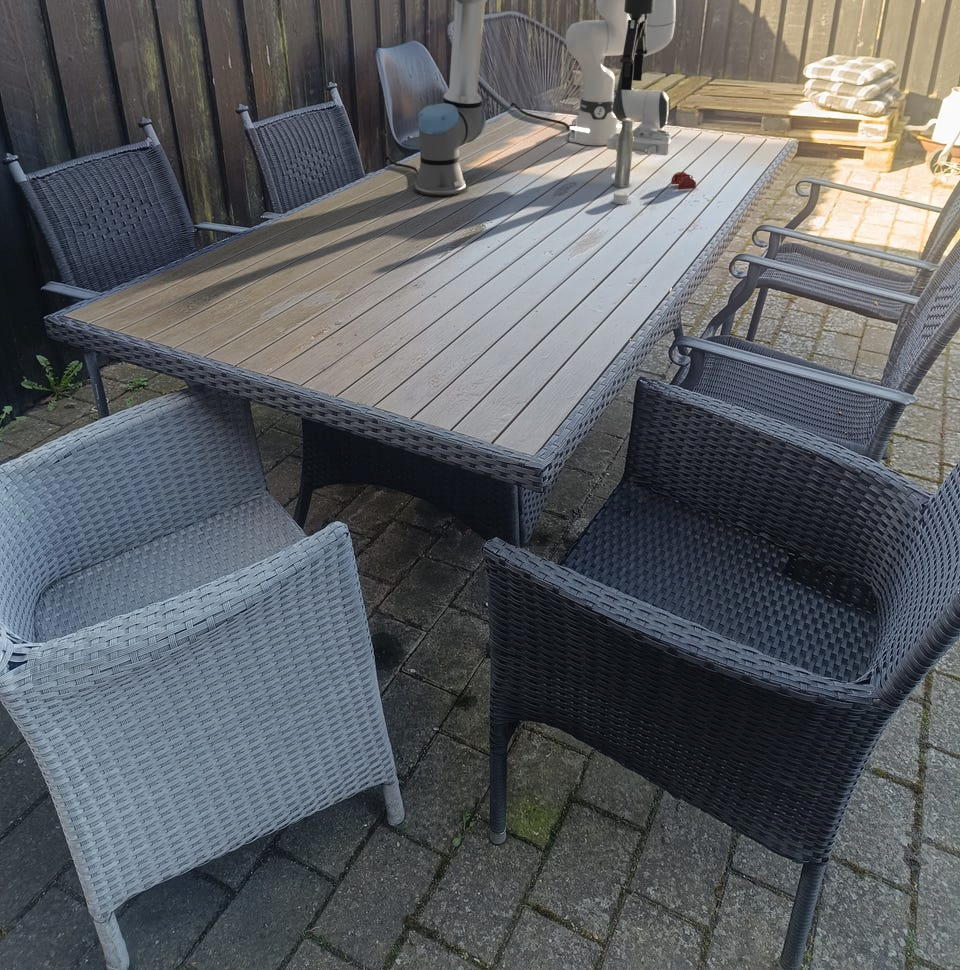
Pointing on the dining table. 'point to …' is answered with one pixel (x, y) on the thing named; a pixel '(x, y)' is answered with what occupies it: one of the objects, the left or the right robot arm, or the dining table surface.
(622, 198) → the cap
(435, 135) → the left robot arm
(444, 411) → the dining table surface
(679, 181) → the dental model
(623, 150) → the bottle
